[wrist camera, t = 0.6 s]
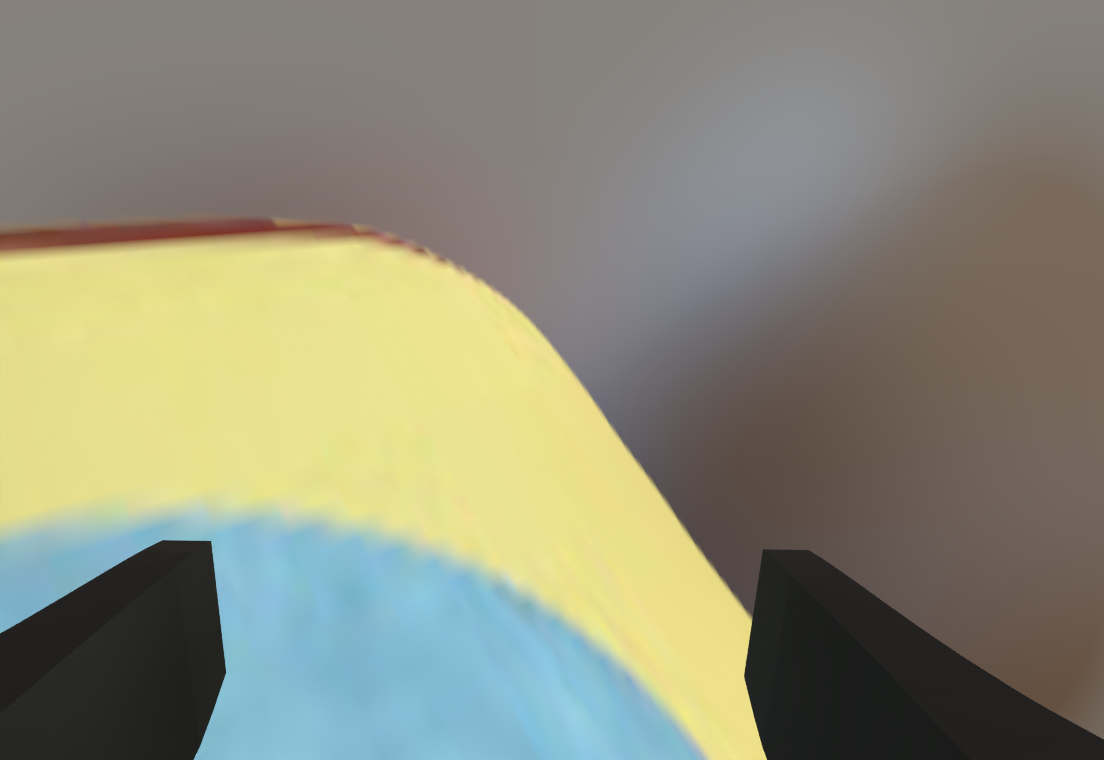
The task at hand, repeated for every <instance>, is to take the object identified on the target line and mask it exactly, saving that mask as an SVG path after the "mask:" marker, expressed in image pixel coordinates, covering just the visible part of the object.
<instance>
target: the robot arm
mask: <svg viewBox="0 0 1104 760" xmlns="http://www.w3.org/2000/svg"><path fill="white" fill-rule="evenodd" d="M225 674H226V668H225V659H224V650H223V642H222V633H221V624H220V615H219V607H218V598H217V589H216V580H215V572H214V563H213V554H212V545H211V541H169V540H163V541H160V542H158V543H156V544H154V545H152V546H150V547H148V548H146V549H144V550H142V551H141V552H139V553H137V554H135V555H133V556H132V557H130V558H128V559H126V560H125V561H123V562H121V563H120V564H118V565H116V566H114V567H113V568H111V569H109V570H108V571H106V572H104V573H103V574H101V575H99V576H98V577H96V578H94V579H93V580H91V581H89V582H87V583H86V584H84V585H82V586H81V587H79V588H77V589H76V590H74V591H72V592H71V593H69V594H67V595H66V596H64V597H62V598H61V599H59V600H57V601H55V602H54V603H52V604H50V605H49V606H47V607H45V608H44V609H42V610H40V611H39V612H37V613H35V614H33V615H32V616H30V617H28V618H27V619H25V620H23V621H22V622H20V623H18V624H16V625H15V626H13V627H11V628H9V629H7V630H6V631H4V632H2V633H0V760H194V757H195V755H196V753H197V751H198V749H199V747H200V745H201V742H202V739H203V737H204V734H205V731H206V729H207V726H208V723H209V721H210V718H211V715H212V712H213V710H214V707H215V704H216V701H217V698H218V695H219V692H220V689H221V686H222V683H223V680H224V677H225ZM744 677H745V682H746V686H747V690H748V694H749V698H750V702H751V706H752V710H753V714H754V718H755V721H756V725H757V729H758V732H759V736H760V740H761V743H762V747H763V750H764V752H765V755H766V757H767V760H1104V740H1103V739H1101V738H1100V737H1098V736H1096V735H1094V734H1092V733H1090V732H1089V731H1087V730H1085V729H1083V728H1081V727H1079V726H1078V725H1076V724H1074V723H1072V722H1070V721H1069V720H1067V719H1065V718H1063V717H1061V716H1059V715H1057V714H1056V713H1054V712H1052V711H1050V710H1048V709H1047V708H1045V707H1043V706H1042V705H1040V704H1038V703H1037V702H1035V701H1033V700H1031V699H1030V698H1028V697H1026V696H1025V695H1023V694H1021V693H1020V692H1018V691H1016V690H1015V689H1013V688H1011V687H1010V686H1008V685H1007V684H1005V683H1004V682H1002V681H1000V680H999V679H997V678H996V677H994V676H992V675H991V674H989V673H988V672H986V671H985V670H983V669H981V668H980V667H978V666H977V665H975V664H973V663H972V662H970V661H969V660H967V659H966V658H964V657H963V656H961V655H959V654H958V653H956V652H955V651H954V650H952V649H951V648H949V647H948V646H946V645H944V644H943V643H941V642H940V641H938V640H937V639H936V638H934V637H933V636H931V635H930V634H928V633H927V632H925V631H924V630H923V629H921V628H920V627H918V626H917V625H915V624H914V623H913V622H911V621H910V620H908V619H907V618H905V617H904V616H903V615H901V614H900V613H898V612H897V611H896V610H894V609H893V608H891V607H890V606H888V605H887V604H886V603H884V602H883V601H881V600H880V599H879V598H877V597H876V596H875V595H873V594H872V593H870V592H869V591H868V590H866V589H865V588H863V587H862V586H861V585H859V584H858V583H857V582H855V581H854V580H852V579H851V578H850V577H848V576H847V575H845V574H844V573H842V572H841V571H839V570H838V569H837V568H835V567H834V566H832V565H831V564H829V563H828V562H826V561H825V560H823V559H822V558H820V557H819V556H817V555H815V554H814V553H812V552H810V551H809V550H764V549H763V554H762V559H761V566H760V573H759V580H758V586H757V593H756V600H755V606H754V613H753V620H752V627H751V633H750V640H749V647H748V654H747V660H746V667H745V674H744Z"/></svg>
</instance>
